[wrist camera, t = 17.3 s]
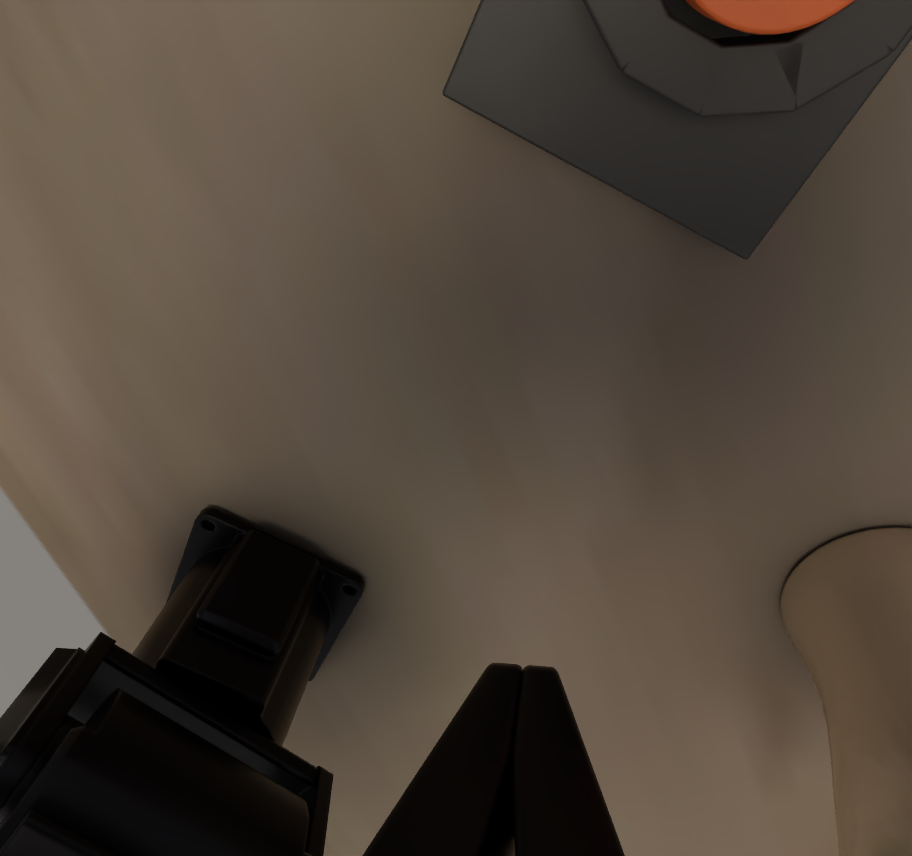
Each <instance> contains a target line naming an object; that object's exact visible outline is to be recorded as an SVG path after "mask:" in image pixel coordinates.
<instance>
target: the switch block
mask: <svg viewBox="0 0 912 856" xmlns="http://www.w3.org/2000/svg"><path fill="white" fill-rule="evenodd" d="M911 39H912V0H855V1H853V2H852V3H851V4H849V5H848V6H846V7H845V8H844V9H842V10H841V11H839V12H838V13H836V14H834V15H833V16H831V17H829V18H827V19H825V20H824V21H822V22H819V23H817V24H815V25H812V26H810V27H807V28H804V29H801V30H797V31H793V32H789V33H782V34H775V35H759V34H752V33H745V32H742V31H738V30H735V29H732V28H729V27H727V26H725V25H722V24H720V23H718V22H715V21H713V20H711V19H709V18H707V17H705V16H703V15H702V14H700V13H699V12H697V11H696V10H695V9H693V8H692V7H691V6H690V5H689V4H688V3H687V2H686V1H685V0H481V2H480V4H479V7H478V9H477V11H476V14H475V16H474V19H473V21H472V23H471V26H470V28H469V30H468V33H467V35H466V37H465V40H464V42H463V45H462V47H461V49H460V52H459V54H458V56H457V59H456V61H455V64H454V66H453V68H452V71H451V73H450V75H449V78H448V80H447V82H446V85H445V87H444V90H443V95H444V96H445V97H447V98H449V99H451V100H453V101H455V102H456V103H458V104H460V105H462V106H464V107H466V108H467V109H469V110H471V111H473V112H475V113H477V114H478V115H480V116H482V117H484V118H486V119H488V120H489V121H491V122H493V123H495V124H497V125H499V126H501V127H502V128H504V129H506V130H508V131H510V132H512V133H513V134H515V135H517V136H519V137H521V138H523V139H524V140H526V141H528V142H530V143H532V144H534V145H535V146H537V147H539V148H541V149H543V150H545V151H546V152H548V153H550V154H552V155H554V156H556V157H557V158H559V159H561V160H563V161H565V162H567V163H568V164H570V165H572V166H574V167H576V168H578V169H579V170H581V171H583V172H585V173H587V174H589V175H591V176H592V177H594V178H596V179H598V180H600V181H602V182H603V183H605V184H607V185H609V186H611V187H613V188H614V189H616V190H618V191H620V192H622V193H624V194H625V195H627V196H629V197H631V198H633V199H635V200H636V201H638V202H640V203H642V204H644V205H646V206H647V207H649V208H651V209H653V210H655V211H657V212H658V213H660V214H662V215H664V216H666V217H668V218H669V219H671V220H673V221H675V222H677V223H679V224H681V225H682V226H684V227H686V228H688V229H690V230H692V231H693V232H695V233H697V234H699V235H701V236H703V237H704V238H706V239H708V240H710V241H712V242H714V243H715V244H717V245H719V246H721V247H723V248H725V249H726V250H728V251H730V252H732V253H734V254H736V255H737V256H739V257H741V258H743V259H748V258H749V257H750V255H751V254H752V253H753V251H754V250H755V249H756V247H757V246H758V244H759V243H760V242H761V240H762V239H763V238H764V236H765V235H766V234H767V232H768V231H769V230H770V228H771V227H772V226H773V224H774V223H775V222H776V220H777V219H778V218H779V216H780V215H781V214H782V212H783V211H784V210H785V208H786V207H787V206H788V204H789V203H790V202H791V200H792V199H793V198H794V196H795V195H796V194H797V192H798V191H799V189H800V188H801V187H802V185H803V184H804V183H805V181H806V180H807V179H808V177H809V176H810V175H811V173H812V172H813V171H814V169H815V168H816V167H817V165H818V164H819V163H820V161H821V160H822V159H823V157H824V156H825V155H826V153H827V152H828V151H829V149H830V148H831V147H832V145H833V144H834V143H835V141H836V140H837V139H838V137H839V136H840V134H841V133H842V132H843V130H844V129H845V128H846V126H847V125H848V124H849V122H850V121H851V120H852V118H853V117H854V116H855V114H856V113H857V112H858V110H859V109H860V108H861V106H862V105H863V104H864V102H865V101H866V100H867V98H868V97H869V96H870V94H871V93H872V92H873V90H874V89H875V88H876V86H877V85H878V84H879V82H880V81H881V80H882V78H883V77H884V75H885V74H886V73H887V71H888V70H889V69H890V67H891V66H892V65H893V63H894V62H895V61H896V59H897V58H898V57H899V55H900V54H901V53H902V51H903V50H904V49H905V47H906V46H907V45H908V43H909V42H910V41H911Z"/></svg>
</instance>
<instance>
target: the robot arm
mask: <svg viewBox="0 0 912 856" xmlns="http://www.w3.org/2000/svg"><path fill="white" fill-rule="evenodd" d="M209 521H211V522H212V523H213V524H211V523H210V522H209ZM348 585H350V586H352V587H354V588H352V587H349V586H348ZM364 587H365V582H364V580H363V579H362V577H361V576H359V575H357V574H356V573H353V572H351V571H349V570H347V569H345V568H343V567H340V566H338V565H336V564H334V563H332V562H330V561H327V560H325V559H323V558H321V557H319V556H317V555H314V554H312V553H310V552H308V551H306V550H304V549H301V548H299V547H297V546H295V545H293V544H291V543H288V542H286V541H284V540H282V539H280V538H277V537H275V536H273V535H271V534H269V533H267V532H264V531H262V530H260V529H258V528H256V527H254V526H251V525H249V524H247V523H245V522H243V521H241V520H238V519H236V518H234V517H232V516H230V515H228V514H225V513H223V512H221V511H219V510H217V509H213V508H205V509H203V510H202V511H201V513H200V514H199V515H198V517H197V518H196V520H195V522H194V525H193V528H192V531H191V534H190V537H189V539H188V542H187V545H186V548H185V551H184V554H183V557H182V559H181V562H180V565H179V568H178V571H177V574H176V577H175V580H174V582H173V585H172V588H171V591H170V594H169V597H168V600H167V602H166V605H165V606H164V608H163V609H162V611H161V612H160V614H159V615H158V617H157V618H156V620H155V621H154V623H153V624H152V626H151V627H150V629H149V630H148V632H147V633H146V634H145V636H144V637H143V639H142V640H141V642H140V643H139V645H138V646H137V648H136V649H135V651H134V652H133V654H130V653H128V652H127V651H125V650H124V649H122V648H120V647H119V646H117V645H115V642H116V641H115V640H113V639H112V638H110V637H109V636H107V635H105V634H104V633H102V632H100V633H99V635H98V636H97V637H96V638H95V639H94V641H93V642H92V643H91V644H90V645H89V647H88V648H87V649H86V650H85V651H84V650H82V649H81V648H78V649H66V648H56V649H55V650H54V651H53V653H52V654H51V655H50V657H49V658H48V659H47V660H46V662H45V663H44V664H43V665H42V667H41V668H40V669H39V671H38V672H37V673H36V674H35V675H34V677H33V678H32V679H31V680H30V682H29V683H28V684H27V685H26V687H25V688H24V689H23V690H22V692H21V693H20V694H19V695H18V697H17V698H16V699H15V701H14V702H13V703H12V704H11V705H10V707H9V708H8V709H7V710H6V712H5V713H4V714H3V715H2V717H1V718H0V856H323V854H324V846H325V838H326V830H327V822H328V814H329V806H330V798H331V790H332V782H333V774H332V773H330V772H328V771H327V770H325V769H324V768H322V767H320V766H317V767H315V766H313V765H311V764H310V763H308V762H306V761H305V760H303V759H302V758H300V757H298V756H297V755H295V754H293V753H292V752H290V751H288V750H287V749H285V748H284V747H282V744H283V742H284V739H285V737H286V735H287V732H288V730H289V727H290V725H291V722H292V720H293V717H294V715H295V712H296V710H297V707H298V705H299V702H300V700H301V697H302V695H303V692H304V690H305V687H306V685H307V682H308V681H311V680H312V679H313V678H314V676H315V675H316V673H317V671H318V670H319V668H320V666H321V664H322V663H323V661H324V659H325V658H326V656H327V654H328V652H329V651H330V649H331V647H332V646H333V644H334V642H335V640H336V639H337V637H338V635H339V633H340V632H341V630H342V628H343V627H344V625H345V623H346V621H347V620H348V618H349V616H350V615H351V613H352V611H353V609H354V608H355V606H356V604H357V603H358V601H359V599H360V597H361V596H362V593H363V590H364ZM363 856H625V855H624V852H623V850H622V847H621V844H620V841H619V839H618V836H617V833H616V830H615V828H614V825H613V822H612V819H611V817H610V814H609V811H608V808H607V806H606V803H605V800H604V797H603V795H602V792H601V789H600V786H599V784H598V781H597V778H596V775H595V773H594V770H593V767H592V764H591V762H590V759H589V756H588V753H587V751H586V748H585V745H584V742H583V740H582V737H581V734H580V731H579V729H578V726H577V723H576V720H575V718H574V715H573V712H572V709H571V707H570V704H569V701H568V698H567V696H566V693H565V690H564V687H563V685H562V682H561V679H560V676H559V674H558V672H557V670H556V669H555V668H553V667H546V666H533V665H528V666H526V667H524V669H522V667H521V666H519V665H517V664H505V663H492V664H490V665H489V666H488V667H487V668H486V669H485V671H484V672H483V674H482V675H481V677H480V678H479V680H478V681H477V683H476V684H475V686H474V687H473V689H472V690H471V692H470V693H469V695H468V696H467V698H466V700H465V701H464V703H463V704H462V706H461V707H460V709H459V710H458V712H457V713H456V715H455V716H454V718H453V719H452V721H451V722H450V724H449V725H448V727H447V728H446V730H445V731H444V733H443V734H442V736H441V737H440V739H439V740H438V742H437V743H436V745H435V747H434V748H433V750H432V751H431V753H430V754H429V756H428V757H427V759H426V760H425V762H424V763H423V765H422V766H421V768H420V769H419V771H418V772H417V774H416V775H415V777H414V778H413V780H412V781H411V783H410V784H409V786H408V787H407V789H406V790H405V792H404V794H403V795H402V797H401V798H400V800H399V801H398V803H397V804H396V806H395V807H394V809H393V810H392V812H391V813H390V815H389V816H388V818H387V819H386V821H385V822H384V824H383V825H382V827H381V828H380V830H379V831H378V833H377V834H376V836H375V837H374V839H373V841H372V842H371V844H370V845H369V847H368V848H367V850H366V851H365V853H364V854H363Z"/></svg>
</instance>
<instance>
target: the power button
mask: <svg viewBox="0 0 912 856" xmlns="http://www.w3.org/2000/svg"><path fill="white" fill-rule="evenodd" d="M685 1H686V2H687V3H688V4H689V5H690V6H691V7H692V8H693V9H695V10H696V11H697V12H699V13H700V14H702V15H703V16H705V17H707V18H709V19H711V20H713V21H715V22H718V23H720V24H722V25H725V26H727V27H729V28H732V29H735V30H738V31H742V32H745V33H752V34H759V35H775V34H782V33H789V32H793V31H797V30H801V29H804V28H807V27H810V26H812V25H815V24H817V23H819V22H822V21H824V20H825V19H827V18H829V17H831V16H833V15H834V14H836V13H838V12H839V11H841V10H842V9H844V8H845V7H846V6H848V5H849V4H851V3H852V2H853V1H855V0H685Z"/></svg>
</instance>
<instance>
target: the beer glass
mask: <svg viewBox="0 0 912 856" xmlns="http://www.w3.org/2000/svg"><path fill="white" fill-rule="evenodd" d="M780 608H781V617H782V621H783V624H784V626H785V629H786V631H787V634H788V636H789V638H790V640H791V642H792V643H793V645H794V647H795V649H796V651H797V652H798V654H799V656H800V658H801V659H802V661H803V663H804V665H805V666H806V668H807V670H808V672H809V673H810V675H811V678H812V680H813V682H814V684H815V686H816V689H817V691H818V694H819V697H820V700H821V703H822V707H823V711H824V716H825V720H826V724H827V731H828V740H829V749H830V757H831V769H832V782H833V794H834V805H835V816H836V826H837V836H838V846H839V856H912V528H880V529H872V530H866V531H862V532H857V533H854V534H850V535H847V536H844V537H842V538H839V539H836V540H834V541H832V542H830V543H828V544H826V545H824V546H822V547H820V548H819V549H817V550H816V551H814V552H813V553H811V554H810V555H809V556H807V557H806V558H805V559H804V560H803V561H802V562H801V563H800V564H799V565H798V566H797V567H796V568H795V569H794V570H793V572H792V573H791V574H790V576H789V577H788V579H787V581H786V583H785V585H784V588H783V591H782V595H781V602H780Z"/></svg>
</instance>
